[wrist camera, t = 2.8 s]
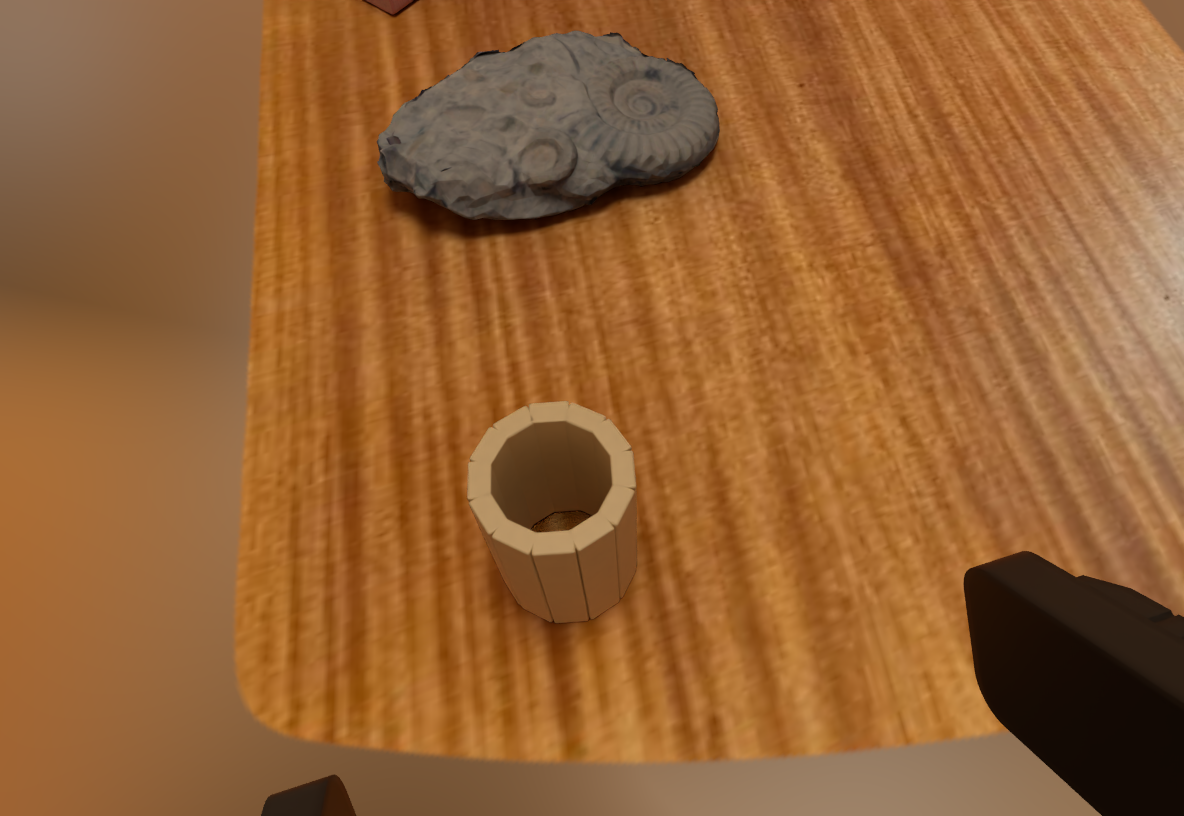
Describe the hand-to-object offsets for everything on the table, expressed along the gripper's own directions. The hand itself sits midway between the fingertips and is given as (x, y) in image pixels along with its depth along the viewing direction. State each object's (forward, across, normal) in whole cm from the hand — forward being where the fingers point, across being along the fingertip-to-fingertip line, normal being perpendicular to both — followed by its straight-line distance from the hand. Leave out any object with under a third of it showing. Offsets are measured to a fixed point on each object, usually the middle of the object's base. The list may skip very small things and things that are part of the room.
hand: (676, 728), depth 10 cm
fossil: (+40, -6, -9) cm, 41 cm away
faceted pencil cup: (+23, 0, +8) cm, 24 cm away
